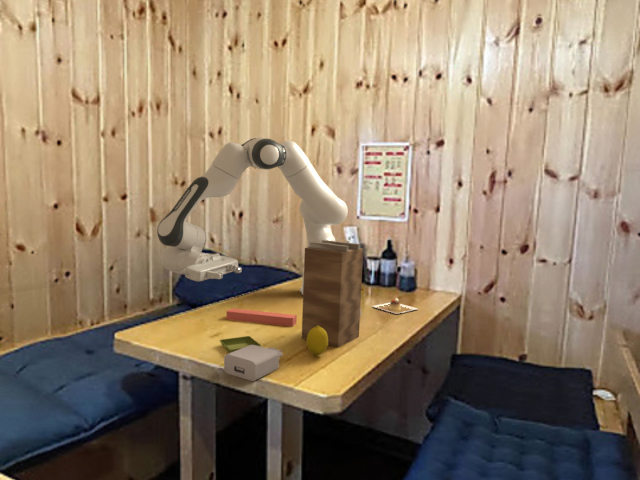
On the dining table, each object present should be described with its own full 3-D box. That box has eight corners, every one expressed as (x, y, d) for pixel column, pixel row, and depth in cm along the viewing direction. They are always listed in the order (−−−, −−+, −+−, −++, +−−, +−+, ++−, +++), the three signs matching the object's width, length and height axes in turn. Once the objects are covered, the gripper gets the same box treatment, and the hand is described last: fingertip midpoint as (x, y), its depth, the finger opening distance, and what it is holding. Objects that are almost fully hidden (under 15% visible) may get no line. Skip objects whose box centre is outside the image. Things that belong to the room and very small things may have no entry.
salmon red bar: (231, 317, 161) (231, 308, 161) (296, 324, 156) (296, 315, 156) (226, 320, 158) (226, 311, 157) (292, 327, 152) (293, 318, 152)
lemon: (311, 360, 124) (312, 329, 123) (302, 353, 129) (303, 323, 128) (331, 358, 126) (332, 327, 125) (322, 351, 131) (323, 321, 130)
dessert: (371, 309, 179) (371, 296, 179) (392, 304, 187) (393, 292, 187) (396, 316, 170) (397, 303, 170) (418, 311, 178) (419, 298, 178)
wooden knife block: (324, 329, 151) (327, 239, 148) (358, 336, 145) (363, 243, 141) (301, 338, 141) (305, 242, 138) (337, 347, 135) (342, 247, 131)
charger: (293, 363, 123) (255, 382, 110) (263, 355, 127) (223, 373, 115) (294, 344, 122) (255, 362, 109) (264, 337, 127) (224, 353, 114)
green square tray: (261, 352, 129) (261, 345, 129) (229, 357, 125) (229, 349, 125) (249, 343, 137) (249, 335, 137) (218, 347, 133) (218, 339, 132)
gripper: (177, 262, 160) (209, 270, 154) (219, 251, 178) (250, 258, 171) (176, 280, 161) (208, 289, 155) (219, 268, 179) (249, 276, 172)
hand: (231, 273), depth 163 cm, fingers open, 8 cm apart
